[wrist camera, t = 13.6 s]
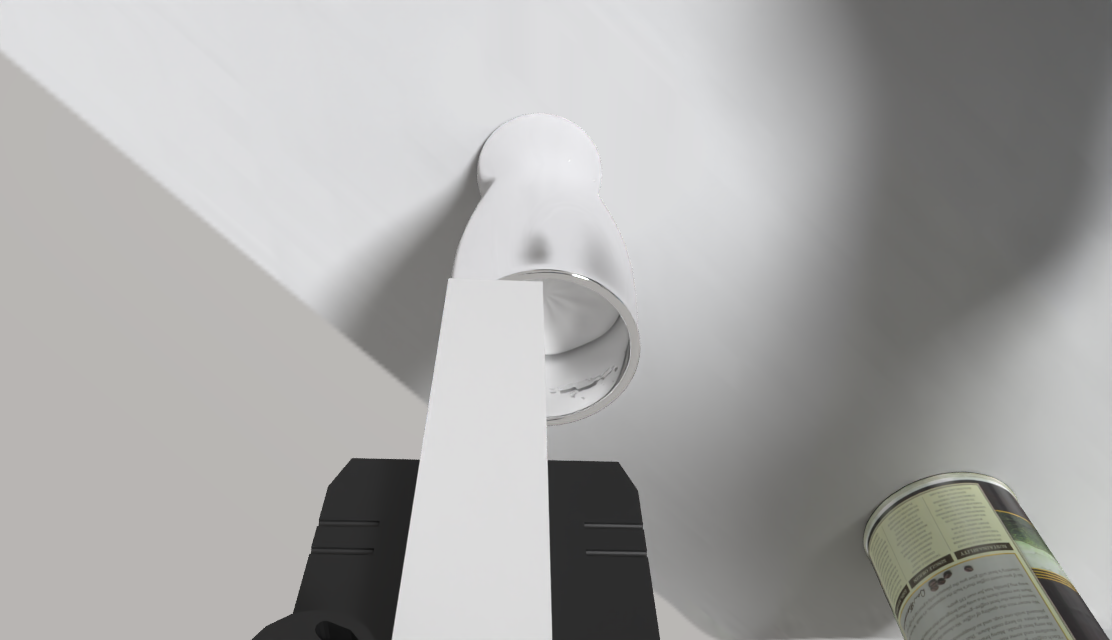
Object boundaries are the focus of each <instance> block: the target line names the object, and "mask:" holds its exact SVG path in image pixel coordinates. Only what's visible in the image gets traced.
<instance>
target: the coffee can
mask: <svg viewBox="0 0 1112 640" xmlns="http://www.w3.org/2000/svg"><path fill="white" fill-rule="evenodd" d="M863 542H864V548H865V551H866V554H867V556H868V558H869V559H870V561H871V563H872V565H873V567H874V570H875V572H876V575H877V577H878V579H879V582H880V584H881V586H882V589H883V591H884V594H885V596H886V598H887V600H888V603H889V605H890V607H891V609H892V612H893V614H894V617H895V619H896V621H897V624H898V626H899V628H900V631H901V633H902V635H903V638H904V640H1109V638H1108V637H1107V636H1106V634H1105V633H1104V631H1103V629H1102V628H1101V626H1100V625H1099V623H1098V622H1097V620H1096V619H1095V618H1094V616H1093V614H1092V613H1091V612H1090V610H1089V608H1088V607H1087V605H1086V604H1085V602H1084V601H1083V599H1082V598H1081V596H1080V595H1079V593H1078V592H1077V591H1076V589H1075V588H1074V586H1073V585H1072V583H1071V582H1070V580H1069V578H1068V577H1067V575H1066V574H1065V573H1064V571H1063V570H1062V568H1061V566H1060V565H1059V563H1058V562H1057V560H1056V559H1055V557H1054V556H1053V554H1052V553H1051V551H1050V550H1049V548H1048V547H1047V545H1046V544H1045V542H1044V541H1043V539H1042V538H1041V536H1040V535H1039V533H1038V532H1037V530H1036V529H1035V527H1034V526H1033V524H1032V523H1031V521H1030V520H1029V518H1028V517H1027V515H1026V514H1025V512H1024V511H1023V509H1022V508H1021V506H1020V505H1019V503H1018V500H1017V498H1016V496H1015V494H1014V493H1013V492H1012V490H1011V489H1010V488H1009V487H1008V486H1006V485H1005V484H1004V483H1002V482H1001V481H999V480H997V479H995V478H992V477H990V476H986V475H983V474H978V473H970V472H957V473H946V474H940V475H935V476H932V477H928V478H925V479H922V480H919V481H917V482H914V483H912V484H909V485H907V486H905V487H904V488H902V489H901V490H899V491H898V492H896V493H894V494H893V495H891V496H890V497H889V498H887V499H886V500H885V501H884V502H883V503H882V504H881V505H880V506H879V507H878V508H877V509H876V511H875V512H874V513H873V515H872V516H871V518H870V520H869V521H868V523H867V525H866V529H865V533H864V540H863Z"/></svg>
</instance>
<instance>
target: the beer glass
mask: <svg viewBox="0 0 1112 640" xmlns="http://www.w3.org/2000/svg"><path fill="white" fill-rule="evenodd" d="M477 181H478V187H479V191H480V194H481V199H480V201H479V203H478V204H477V206H476V208H475V210H474V212H473V213H472V215H471V217H470V219H469V221H468V223H467V225H466V227H465V230H464V232H463V235H462V237H461V239H460V242H459V244H458V247H457V251H456V255H455V259H454V264H453V269H452V274H451V278H453V279H483V280H512V281H542V282H543V307H544V345H545V384H546V422H547V426H553V425H562V424H567V423H571V422H575V421H578V420H581V419H584V418H587V417H589V416H591V415H593V414H595V413H597V412H599V411H601V410H602V409H604V408H605V407H607V406H608V405H609V404H611V403H612V402H613V401H614V400H615V399H617V398H618V397H619V396H620V394H621V393H622V392H623V391H624V390H625V389H626V387H627V386H628V384H629V383H630V381H631V380H632V378H633V376H634V374H635V371H636V369H637V366H638V362H639V357H640V336H639V331H638V311H637V297H636V288H635V282H634V275H633V269H632V265H631V262H630V258H629V254H628V250H627V247H626V244H625V242H624V239H623V237H622V235H621V233H620V231H619V228H618V226H617V224H616V222H615V220H614V218H613V217H612V215H611V213H610V212H609V210H608V209H607V207H606V205H605V204H604V202H603V200H602V199H601V197H600V196H599V192H600V188H601V182H602V164H601V158H600V155H599V152H598V150H597V147H596V146H595V144H594V142H593V141H592V139H591V138H590V137H589V135H588V134H587V133H586V132H585V131H584V130H583V129H582V128H581V127H579V126H578V125H577V124H575V123H574V122H572V121H570V120H568V119H566V118H564V117H561V116H558V115H553V114H547V113H531V114H525V115H521V116H518V117H515V118H513V119H511V120H509V121H507V122H505V123H504V124H502V125H501V126H500V127H498V128H497V129H496V130H495V131H494V132H493V133H492V134H491V135H490V137H489V138H488V139H487V141H486V142H485V144H484V146H483V148H482V150H481V152H480V155H479V159H478V164H477Z"/></svg>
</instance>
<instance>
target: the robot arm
mask: <svg viewBox="0 0 1112 640" xmlns="http://www.w3.org/2000/svg"><path fill="white" fill-rule="evenodd" d="M311 548H312V549H311V554H309V557H308V561H307V565H306V569H305V572H304V575H303V579H302V583H301V586H300V590H299V594H298V597H297V601H296V604H295V608H294V612H293V614H291V615H289V616H287V617H285V618H283V619H280V620H278V621H276V622H274V623H272V624H270V625H268V626H266V627H265V628H264V629H263V630H261V631H260V632H259V633H258V634H257V635H256V636H255V637H254V638H253V639H252V640H660V637H659V629H658V622H657V616H656V609H655V602H654V595H653V589H652V582H651V575H650V569H649V562H648V557H647V549H646V542H645V535H644V530H643V522H642V515H641V508H640V502H639V495H638V490H637V489H636V487H635V486H634V484H633V483H632V481H631V480H630V478H629V477H628V475H627V474H626V473H625V471H624V470H623V468H622V467H621V465H620V464H619V462H599V461H555V460H547V422H546V384H545V345H544V307H543V282H542V281H512V280H483V279H453V278H448V285H447V291H446V297H445V304H444V310H443V316H442V323H441V329H440V336H439V342H438V348H437V355H436V361H435V367H434V374H433V380H432V387H431V393H430V399H429V406H428V412H427V419H426V425H425V431H424V438H423V444H422V450H421V457H420V460H408V459H407V460H406V459H363V458H362V459H361V458H352V459H351V460H350V461H349V463H348V464H347V465H346V466H345V467H344V468H343V470H342V471H341V472H340V473H339V474H338V476H337V477H336V478H335V479H334V480H333V481H332V483H331V484H330V485H329V486H328V489H327V493H326V497H325V500H324V503H323V507H322V511H321V514H320V518H319V526H317V529H316V532H315V537H314V539H313V543H312V547H311Z"/></svg>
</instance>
